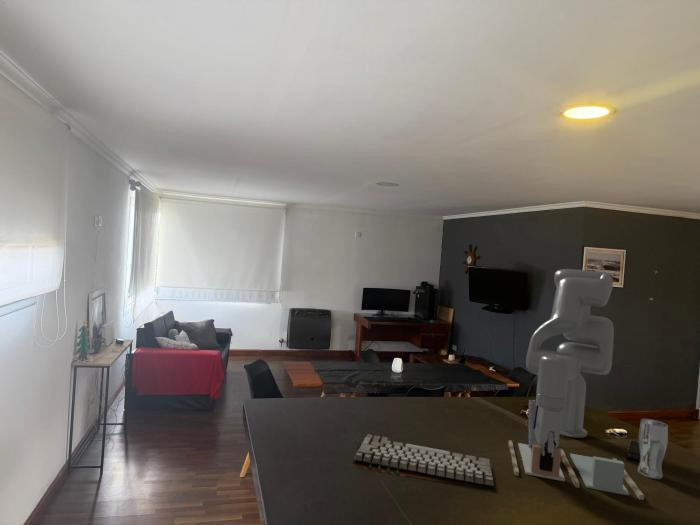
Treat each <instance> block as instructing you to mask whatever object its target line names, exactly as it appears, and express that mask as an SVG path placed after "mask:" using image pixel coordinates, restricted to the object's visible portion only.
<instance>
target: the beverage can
mask: <svg viewBox="0 0 700 525" xmlns="http://www.w3.org/2000/svg"><path fill="white" fill-rule="evenodd" d="M537 412H538V406H537V405H536V399H529V400H528V445H529V448H530V449H531V451H532V446H533V444H535V445H539V444H538V442H537V439H536V436H535V427H536V419H537Z"/></svg>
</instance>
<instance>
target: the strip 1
mask: <svg viewBox="0 0 700 525" xmlns="http://www.w3.org/2000/svg"><path fill="white" fill-rule="evenodd" d="M517 445H518V449H519V453H520V457H522V458H521V461H523V462H522V465H523V469H524V473H525V475H529V476H534V477H540V478H544V479H550V480H556V481H560V482H566V477H565V475H564V473H563V471H562V469H561V460H562V458H561V450H560V449H561V448H558V447H557V448H555V447H554V454H553V469H552V472H550V471H544V470H540V468H539V467H540V455H541V454H542V446H541V445H535V444H533V446H532V451H531V449H530V448H529V444H526V443H521V442H520V443H519V442H518V443H517ZM546 448H547V447H545V449H546Z"/></svg>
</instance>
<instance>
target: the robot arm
mask: <svg viewBox="0 0 700 525" xmlns="http://www.w3.org/2000/svg"><path fill="white" fill-rule="evenodd" d="M553 276H554V278H553V280H554V284H555V287H556V290H555V293H554V299H553V305H552V310H551V315H550V318H549V319H548V320H546V321H545V322H543V323H542V324H541V325H540V326H539V327H538V328H536V329H535V331H534V332H533V334H532V336H531V337H530V340H529V344H528V350H527V353H526V357H525V358H526V360H525V367H526V368H527V371H529V373H530V374H533V375H537V385H536V396H535V397H536V398H535V400H536V405H537V406H538V412H537V419H536V427H535V436H536V439H537V442H538V444H539V445H541V446H542V454H541V455H540V467H539V468H540V470H544V471H550V472H552V469H553V454H554V448H558V447H559V444H560V443H559V442H560V435H561V436H565V437H569V438H575V439H576V438H577V439H578V438H579V439H581V438H586V437H588V431H587V430H586V429H585V428H584V418H585V417H584V416H585V404H586V394H587V384H586V380H585V378H584V377H583V376H582V374H581V372H582V373H583V372H584V373H587V374H594V375H601V376H606V375H609V374H610V373H611V370H612V366H613V353H614V338H615V337H614V336H615V329H614V323H613V321H612V320H611V319H609V318H608V317H604V316H598V315H591V307H599V308H603V307H605V306H606V305H607V304H608V302H609V299H610V297H611V294H612V291H613V287H614V284H613V282H614V281H613V276H612V275H611V274H610V273H609V272H606V271H597V270H585V269H573V268H572V269H571V268H562V269H558V270H556V271H555V273H554V275H553ZM558 335H562V336H563V337H564V338H565V339H566V340H568V342H567V341H566V342H565V341H564V342H562V343H559V345H558V346H557V348H556V351H555V350H548V349H542V348H541V345H542V343H544V342H545V341H546V340H548V339H549V338H552V337H555V336H558ZM569 341H570V342H569ZM571 341H574V342H571ZM577 342H578V343H577ZM579 342H580V343H579ZM585 343H587V344H585ZM590 344H593V345H590ZM545 447H547V448H546V449H545Z"/></svg>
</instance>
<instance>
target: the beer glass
mask: <svg viewBox="0 0 700 525" xmlns="http://www.w3.org/2000/svg"><path fill="white" fill-rule="evenodd" d="M668 429H669V425H668V424H667V423H665V422H662V421H660V420H655V419H650V418H642V419H640V425H639V430H638V448H639V464H638V467H637V473H638V474H640V475H641V476H643V477H646V478H649V479H652V480H653V479H654V480H662V479H663V476H664V475H663V461H664V458H665V455H666V452H667V451H666V450H667V446H668V442H669V441H668V440H669V438H668V437H669V430H668Z"/></svg>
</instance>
